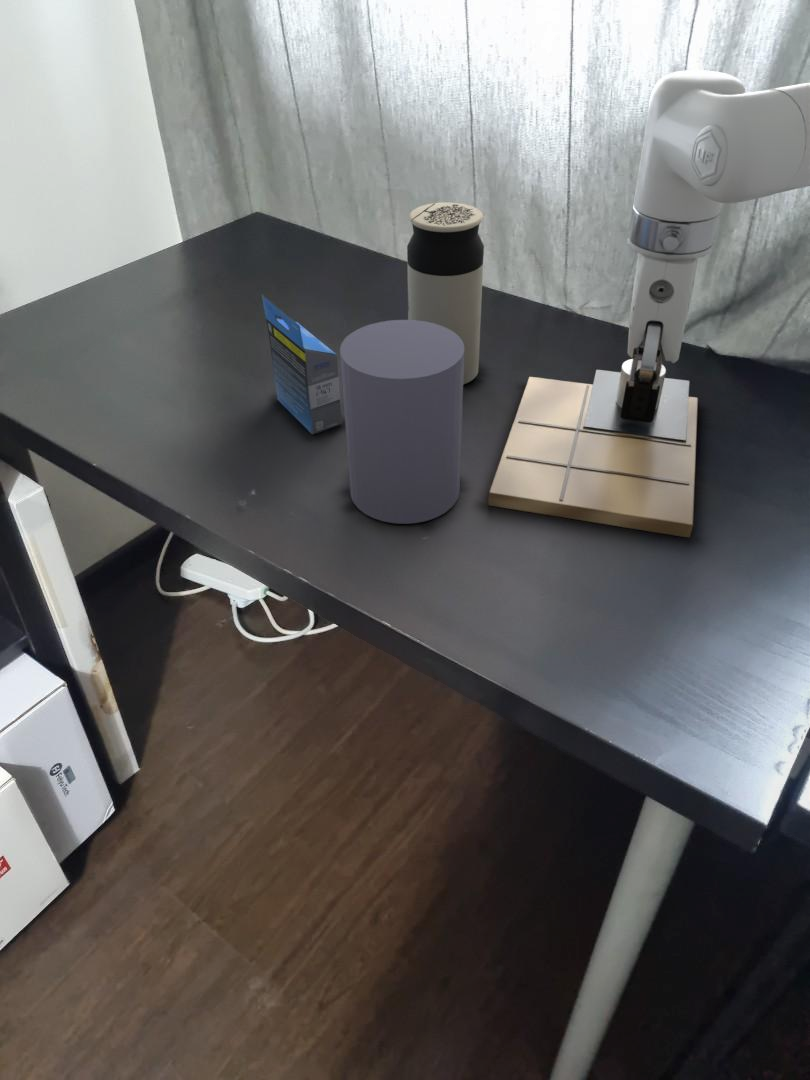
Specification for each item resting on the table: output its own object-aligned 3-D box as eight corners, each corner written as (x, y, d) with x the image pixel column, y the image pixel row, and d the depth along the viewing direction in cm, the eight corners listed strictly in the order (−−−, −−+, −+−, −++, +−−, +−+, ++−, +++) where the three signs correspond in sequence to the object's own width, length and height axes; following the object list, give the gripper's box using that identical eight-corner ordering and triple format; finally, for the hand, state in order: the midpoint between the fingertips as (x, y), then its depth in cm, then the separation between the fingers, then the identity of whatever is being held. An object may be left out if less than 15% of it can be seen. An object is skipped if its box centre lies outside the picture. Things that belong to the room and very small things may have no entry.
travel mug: (491, 368, 96) (500, 210, 84) (453, 397, 91) (457, 234, 79) (434, 349, 100) (435, 196, 88) (395, 377, 95) (391, 218, 83)
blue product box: (344, 425, 87) (336, 316, 79) (311, 436, 86) (299, 326, 78) (306, 389, 93) (294, 284, 85) (274, 399, 91) (259, 293, 83)
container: (474, 473, 80) (481, 330, 70) (436, 537, 73) (438, 388, 63) (376, 451, 83) (370, 312, 74) (331, 511, 76) (318, 365, 66)
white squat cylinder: (660, 394, 88) (667, 360, 85) (657, 416, 84) (665, 381, 82) (617, 389, 89) (623, 355, 86) (614, 410, 85) (619, 375, 83)
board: (695, 395, 91) (699, 382, 89) (689, 538, 72) (693, 523, 71) (532, 375, 95) (533, 361, 93) (487, 505, 76) (488, 490, 75)
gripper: (715, 270, 67) (672, 450, 79) (715, 200, 80) (679, 364, 92) (621, 261, 69) (593, 439, 81) (636, 194, 82) (610, 356, 93)
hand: (639, 398), depth 86 cm, fingers open, 7 cm apart
